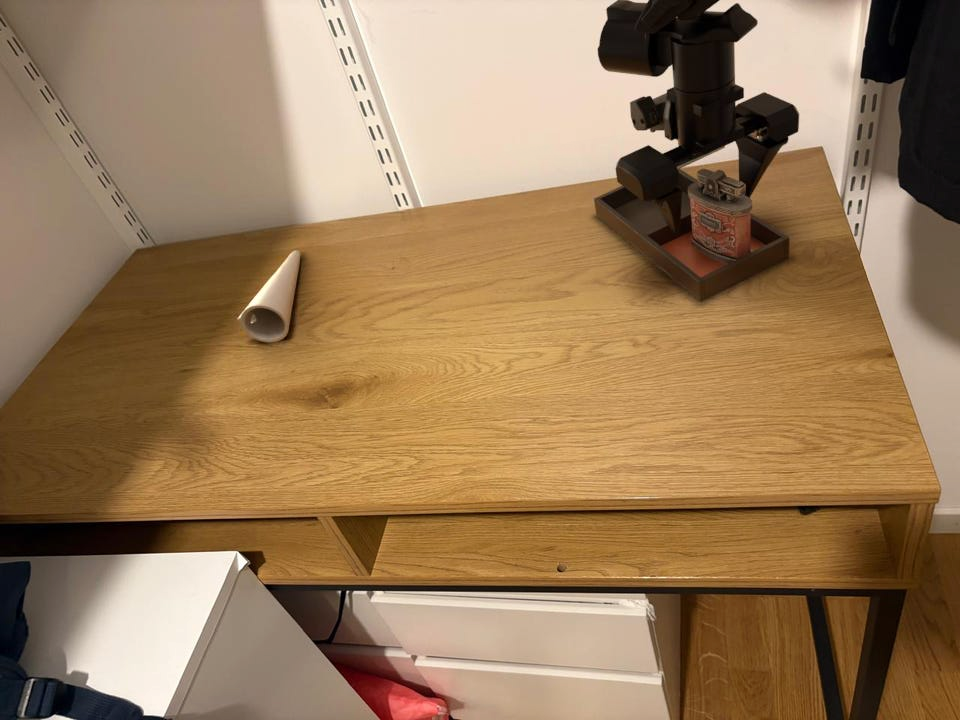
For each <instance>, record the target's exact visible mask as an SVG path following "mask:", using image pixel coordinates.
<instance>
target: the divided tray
mask: <svg viewBox="0 0 960 720" xmlns="http://www.w3.org/2000/svg"><path fill="white" fill-rule="evenodd" d="M678 171H679V182H678V184H677V186H678V187H679V188H681V189H682V205H681V224H680V228H679V232H678V233H674V232H673V231H671V230H670V228H669V226H668V224H667V223H666V221H665V219H664V217H663V215H662V214H661V212H660V210H659V208H658V206H657V205H656V203H655V202H653V201H643V200H642V199H640V198H639V197H638V196H636V195H635V194H633V193H632V192H631V191H629V190H628V189H627V188H625V187H624V186H622V185H620V186H618V187H616V188H614V189H611V190H610V191H607V192H605V193H603V194H601V195H599V196H596V197H595V198H593V201H594V206H595V207H594V208H595V214H596V218H597V219H599V220H600V221H601V222H602V223H603V224H604V225H606V227H608V228H609V229H611V231H613V232H614V233H615V234H616V235H618V236H619V237H620V238H621V239H623V240H624V241H625V242H626V243H628V244H629V245H630V246H631V247H632V248H634V249H635V250H636V251H637V252H639V254H641V255H642V256H644V258H646V260H649V262H651V263H652V264H653V265H654V266H655V267H657V268H658V269H659V270H660V271H662V272H663V273H664V274H665V275H666V276H667V277H669V278H670V279H671V280H673V281H674V282H675V283H676V284H677V285H679V286H680V287H681V288H682V289H683V290H684V291H686V292H687V293H688V294H689V295H690V296H692V297H693V298H694V299H696V300H697V301H698V302H699V303H702V302H703V301H706V300H708V299H711V298H712V297H714V296H716V295H718V294H720V293H722V292H724V291H726V290H729V289H730V288H733V287H734V286H736V285H738V284H740V283H743V282H744V281H747V280H748V279H750V278H752V277H754V276H757V275H759V274H761V273H763V272H765V271H767V270H768V269H770V268H773V267H775V266H777V265H779V264H780V263H782V262H785V261H787V260H789V259H790V241H791V240H790V236H788V235H787V234H785V233H783V232H782V231H780V230H778V229H777V228H775V227H773V225H771V224H769V223H767V222H766V221H764V220H762V219H761V218H759V217H758V216H756V215H754V214H753V213H751V212H750V237H751V250H752V252H751V253H749V254H747V255H745V256H743V257H741V258H739V259H737V260H735V261H733V262H731V263H729V264H725V263H722V262H719V261H717V260H715V259H712V258H710V257H708V256H706V255H705V254H703V253H701V252H700V251H698V250H697V249H696V248H694V247H693V246H692V242H691V236H692V234H693V232H692V217H691V202H690V197H689V196H688V187H689V186H690V185H691V184H693V183H695V182H698V181H697V178H695V177H693V175H690V174H689V173H688V172H685V171H684V170H682V168H680V169H678Z"/></svg>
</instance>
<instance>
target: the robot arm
mask: <svg viewBox="0 0 960 720" xmlns="http://www.w3.org/2000/svg"><path fill="white" fill-rule="evenodd" d="M719 1H721V0H648V1H647V2H635V1H632V0H616V1H614V2H613V3H611V4H610V5H608V6H607V7H606V9H605V11H606V18H607V19H606V21H605V23H604V25H603V27H602V29H601V32H600V37H599V42H598V43H599V44H598V47H597V57H598V60H599V63H600V65H601V67H602V68H603V69H604V70H605V71H607V72H611V73H619V74H628V75H634V76H635V75H636V76H643V77H644V76H645V77H651V78H657V77H660V76H662V75H664V74H665V73H666V71H667V70H668V69H669V68H670V67H672V68H671V69H672V81H673V87H670V88H668V89H666V92H665V93H663V94H661V95H659V96H656V97H654V98H653V97H652V96H651V95H647V96H641V97H638V98H636V99H633V100H632V101H630V102H629V107H630V109H629V111H630V119H631V122H632V126H633V128H634V129H635V130H636V131H648V130H649V131H650V133H655V132H656V131H658V132H659V131H664V132H663V133H664V138H666V139H667V140H669V141H674V140H676V141H677V146H676V147H674V148H671V149H669V150H666V151H665V152H661V151H659V150H657V149H656V148H654V147H652V146H651V145H649V144H647V145H646V146H643V147H641V148H639V149H637V150H635V151H632V152H631V153H628V154H626V155H624V156H621V157H619V159H618V160H617V162H616V165H615V175H616V182H617V183H618V184H620V186H624V187H625V188H627V189H628V190H629V191H631V192H632V193H633V194H635V195H636V196H638V197H639V198H640V199H642V200H643V201H653V202H655V203H656V205H657V206H658V208H659V210H660V212H661V214H662V215H663V217H664V219H665V221H666V223H667V224H668V226H669V228H670V230H671V231H673V232H674V233H678V232H679V228H680V224H681V205H682V189H681V188H679V187H678V186H677V184H678V182H679V171H678V169H682V168H685V167H687V166H688V165H691V164H693V163H695V162H697V161H699V160H701V159H704V158H706V157H708V156H710V155H712V154H714V153H716V152H719V151H721V150H723V149H725V147H726V146H728V145H730V144H733V143H735V144H736V147H737V151H738V181H741V182H743V183H744V184H745V191H746V193H745V194H744V195H745V196H747V197H749V198H750V199H751V196H752V195H753V193H754V191H755V189H756V188H757V186H758V185H759V183H760V181H761V180H762V177H763V176H764V174H765V173H766V171H767V170H768V168H769V167H770V165H771V163H772V162H773V160H774V159H775V157H776V156H777V154H778V153H779V152H780V150H781V148H782V147H783V146H785V145H787V144H788V143H789V137H791V136H793V135H795V134H797V133H799V130H800V112H799V111H798V108H797V106H796V105H794V104H792V103H791V102H788V101H786V100H784V99H781V98H779V97H777V96H774V95H772V94H769V93H767V92H765V91H764V92H761V93H759V94H756V95H755V96H753V97H751V98H748V99H746V100H744V101H742V102H739V103H737V104H736V102H737V101H740V100H742V99H744V98H745V88H744V87H742V86H741V85H738V84H736V62H735V61H736V60H735V58H736V56H735V55H736V54H735V51H736V50H735V43H738V42H740V40H741V39H743V38H744V37H745V36H746V35H748V34H749V33H750V32H751V31H753V29H754V28H756V27H757V26H758V24H759V23H758V19H757V18H756V17H754V16H753V15H752V14H751V13H750V12H748V11H746V10H744V9H743V8H742V6H741V4H740V3H738V2H736V3H733V5H731V6H730V7H729V8H728V9H726V10H725V11H713V10H709V9H710V8H712V7H713V6H715V5H716V4H717V3H718V2H719Z"/></svg>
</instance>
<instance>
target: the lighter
mask: <svg viewBox="0 0 960 720" xmlns="http://www.w3.org/2000/svg"><path fill="white" fill-rule="evenodd" d="M696 179H697V181H698V182H695V183H693V184H691V185H690V186H689V187H688V196H689V197H690V202H691V217H692V232H693V234H692V236H691V242H692V246H693V247H694V248H696V249H697V250H698V251H700V252H701V253H703V254H705V255H706V256H708V257H710V258H712V259H715V260H717V261H719V262H722V263H725V264H729V263H731V262H733V261H735V260H737V259H739V258H741V257H743V256H745V255H747V254H749V253H751V252H752V250H751V237H750V213H751V211H752V210H753V200H752V198H751V197H750V198H749V197H747V196H745V195H744V194H745V193H746V191H745V184H744V183H743V182H741V181H739V179H736V178H733V177H731V176H727V174H726V173H725V171H724V170H722V169H717V170H715V171H713V170H710V169H707V168H700V169H698V170H697V171H696Z"/></svg>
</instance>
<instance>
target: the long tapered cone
mask: <svg viewBox="0 0 960 720" xmlns="http://www.w3.org/2000/svg"><path fill="white" fill-rule="evenodd" d="M301 256H302V255H301V252H300V251H299V250H297V249H296V250H293V251H292V252H291V253H290V254H289V255H288V256H287V258H286V259H285V260H284V261H283V263H282V264H281V265H280V266H279V267H278V269H277V270H276V271H275V272H274V273H273V275H272V276H270V278H269V279H268V280H267V282H266V283H265V284H264V285H263V286H262V288H261V289H260V290H259V291H258V292H257V294H255V296H254V297H253V299H252V300H251V301H250V302H249V304H248V305H247V306H246V307H245V309H244V310H243V311H242V312H241V313H240V315H239V316H238V317H237V319H236V320H237V323H238V324H239V325H240V327H241V328H242V330H243V331H244V332H245V334H246V335H247V337H248V339H249V340H256V341H259V342H263V343H270V344H271V343H278V342H280V341H282V340H284V338H285V337H286V336H287V335H288V333H289V329H290V323H291V318H292V310H293V306H294V299H295V293H296V287H297V281H298V276H299V270H300V264H301Z"/></svg>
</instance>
